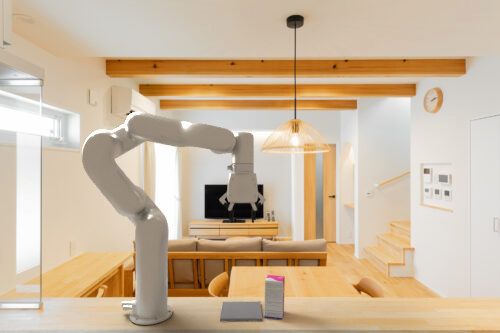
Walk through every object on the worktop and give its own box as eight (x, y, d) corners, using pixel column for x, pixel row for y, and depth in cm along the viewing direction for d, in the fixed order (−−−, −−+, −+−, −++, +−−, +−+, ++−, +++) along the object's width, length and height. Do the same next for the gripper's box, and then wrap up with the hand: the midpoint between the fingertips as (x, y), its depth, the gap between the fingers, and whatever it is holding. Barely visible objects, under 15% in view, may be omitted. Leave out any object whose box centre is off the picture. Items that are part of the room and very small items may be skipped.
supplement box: (283, 320, 93) (283, 281, 93) (263, 318, 94) (263, 280, 95) (284, 311, 99) (284, 275, 99) (266, 309, 100) (266, 274, 100)
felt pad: (220, 321, 92) (220, 318, 92) (222, 304, 104) (222, 301, 104) (262, 321, 92) (262, 318, 93) (259, 303, 104) (260, 301, 104)
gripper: (216, 168, 101) (215, 224, 101) (269, 169, 102) (268, 224, 101) (218, 169, 109) (217, 220, 108) (267, 169, 109) (267, 220, 109)
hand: (242, 221), depth 105 cm, fingers open, 6 cm apart
